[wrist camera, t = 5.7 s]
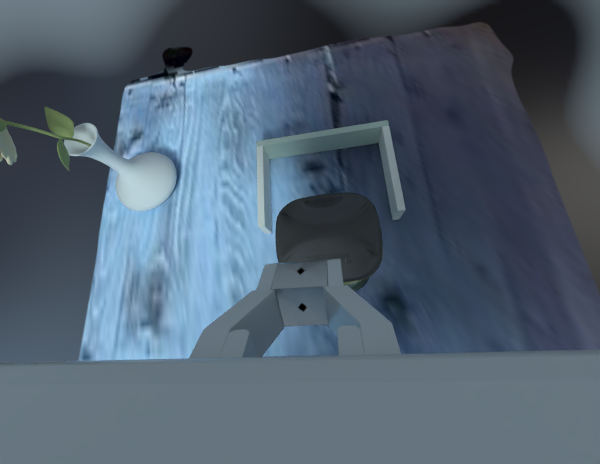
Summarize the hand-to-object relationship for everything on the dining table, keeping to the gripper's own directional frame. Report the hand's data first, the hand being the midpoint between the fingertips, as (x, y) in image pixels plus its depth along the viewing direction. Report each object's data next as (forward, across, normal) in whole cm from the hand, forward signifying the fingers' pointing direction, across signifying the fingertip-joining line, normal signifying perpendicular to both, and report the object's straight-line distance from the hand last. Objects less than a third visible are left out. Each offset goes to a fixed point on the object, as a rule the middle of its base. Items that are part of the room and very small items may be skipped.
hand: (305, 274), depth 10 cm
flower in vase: (+34, +31, +5) cm, 46 cm away
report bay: (+32, -1, +7) cm, 33 cm away
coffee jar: (+23, -1, +16) cm, 28 cm away
